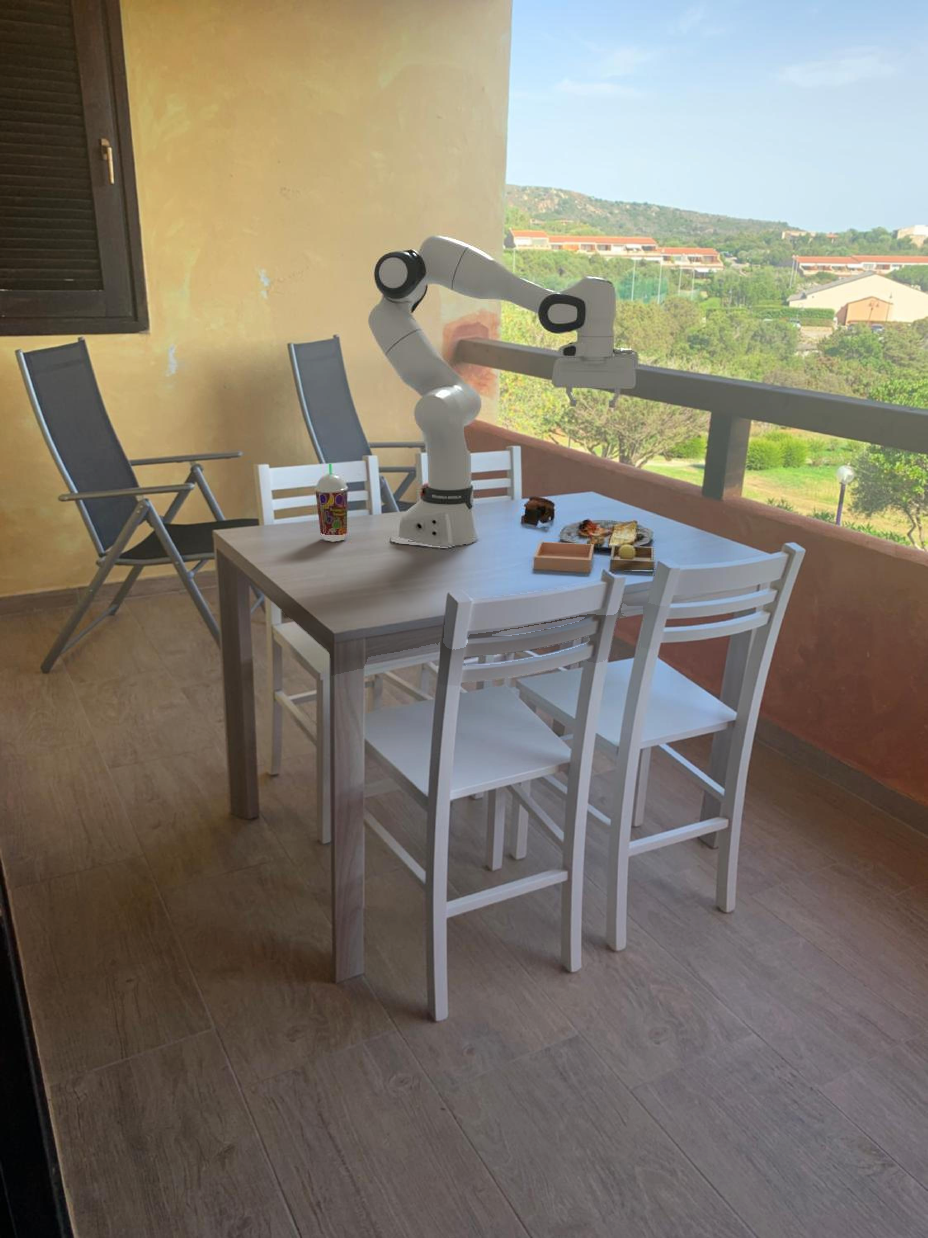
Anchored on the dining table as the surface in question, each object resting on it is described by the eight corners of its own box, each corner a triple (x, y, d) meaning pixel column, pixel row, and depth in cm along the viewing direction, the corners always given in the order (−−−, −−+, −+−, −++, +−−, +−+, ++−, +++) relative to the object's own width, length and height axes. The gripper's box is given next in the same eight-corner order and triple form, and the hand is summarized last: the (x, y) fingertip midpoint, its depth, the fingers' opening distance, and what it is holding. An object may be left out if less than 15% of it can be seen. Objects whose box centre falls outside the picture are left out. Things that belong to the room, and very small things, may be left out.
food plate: (571, 523, 252) (572, 511, 251) (656, 531, 245) (657, 518, 244) (551, 551, 230) (552, 537, 229) (644, 560, 224) (645, 546, 222)
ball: (624, 566, 216) (614, 553, 216) (624, 561, 220) (615, 548, 219) (638, 557, 215) (629, 543, 214) (638, 552, 219) (629, 539, 218)
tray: (609, 569, 213) (610, 559, 212) (611, 555, 224) (612, 545, 223) (653, 572, 212) (654, 561, 211) (653, 557, 223) (653, 547, 222)
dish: (533, 569, 214) (533, 556, 213) (539, 553, 226) (540, 541, 225) (590, 572, 212) (590, 559, 211) (593, 555, 224) (593, 544, 223)
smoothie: (336, 545, 233) (332, 467, 226) (311, 541, 237) (306, 464, 230) (356, 537, 240) (353, 462, 232) (332, 533, 244) (327, 458, 237)
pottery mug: (512, 523, 256) (520, 495, 256) (539, 534, 260) (547, 507, 261) (534, 521, 245) (543, 492, 246) (562, 533, 249) (571, 505, 250)
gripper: (639, 347, 221) (635, 405, 226) (554, 346, 224) (552, 404, 229) (638, 349, 215) (635, 409, 220) (552, 348, 218) (550, 407, 223)
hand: (592, 406), depth 224 cm, fingers open, 8 cm apart
